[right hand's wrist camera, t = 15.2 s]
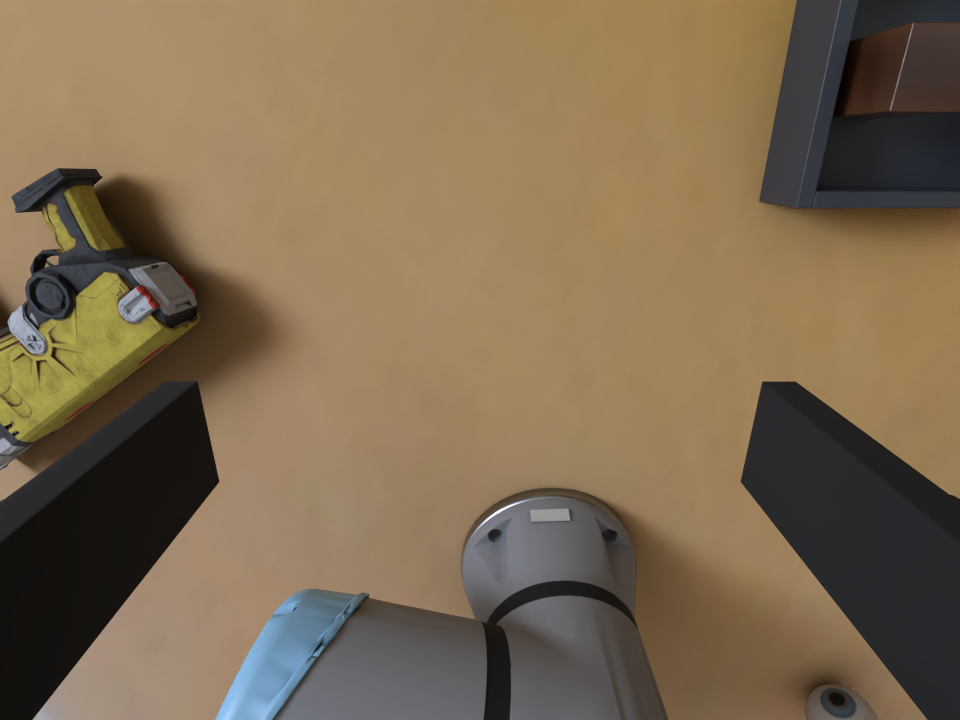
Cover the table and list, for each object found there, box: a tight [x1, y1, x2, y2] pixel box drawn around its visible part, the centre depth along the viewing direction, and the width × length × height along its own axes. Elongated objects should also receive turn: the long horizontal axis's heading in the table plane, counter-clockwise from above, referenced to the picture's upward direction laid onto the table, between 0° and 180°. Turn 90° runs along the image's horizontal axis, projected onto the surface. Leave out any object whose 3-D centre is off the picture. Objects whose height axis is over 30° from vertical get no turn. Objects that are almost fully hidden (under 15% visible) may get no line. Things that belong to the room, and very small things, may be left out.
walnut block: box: [832, 22, 960, 119], centre depth 30 cm, size 4×4×7 cm
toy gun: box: [0, 168, 200, 470], centre depth 37 cm, size 5×24×15 cm
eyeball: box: [805, 684, 878, 720], centre depth 51 cm, size 6×6×6 cm
